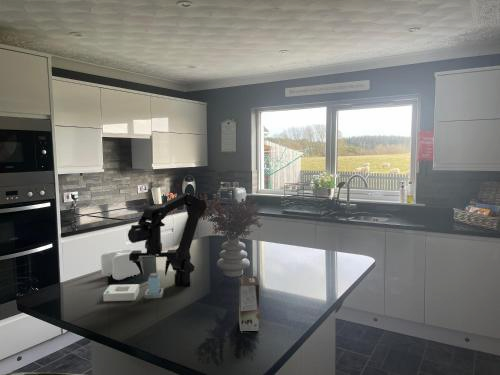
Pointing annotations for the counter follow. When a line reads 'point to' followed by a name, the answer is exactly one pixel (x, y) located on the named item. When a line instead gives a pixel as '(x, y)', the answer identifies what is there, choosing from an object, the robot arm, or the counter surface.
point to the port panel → (121, 292)
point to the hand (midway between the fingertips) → (154, 275)
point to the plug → (154, 283)
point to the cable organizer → (118, 264)
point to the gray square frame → (154, 294)
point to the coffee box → (249, 303)
